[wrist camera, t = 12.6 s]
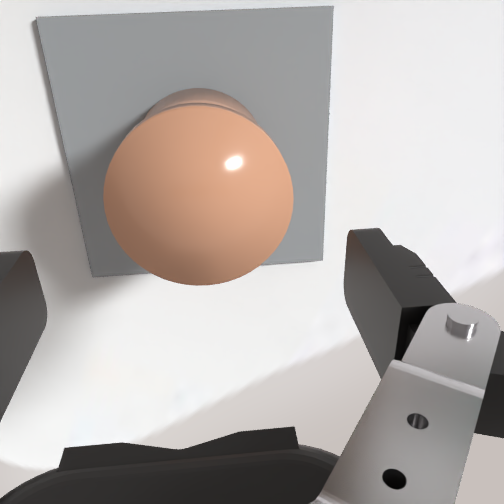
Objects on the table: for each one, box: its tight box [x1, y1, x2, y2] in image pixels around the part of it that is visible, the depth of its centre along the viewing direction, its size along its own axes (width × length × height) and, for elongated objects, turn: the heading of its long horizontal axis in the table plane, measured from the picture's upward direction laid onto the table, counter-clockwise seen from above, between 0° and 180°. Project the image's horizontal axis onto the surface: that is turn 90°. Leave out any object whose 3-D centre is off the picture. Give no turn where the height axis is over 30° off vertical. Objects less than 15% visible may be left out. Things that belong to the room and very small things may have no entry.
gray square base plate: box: [36, 6, 334, 277], centre depth 22 cm, size 12×12×1 cm
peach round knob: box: [103, 88, 294, 285], centre depth 19 cm, size 7×7×6 cm
